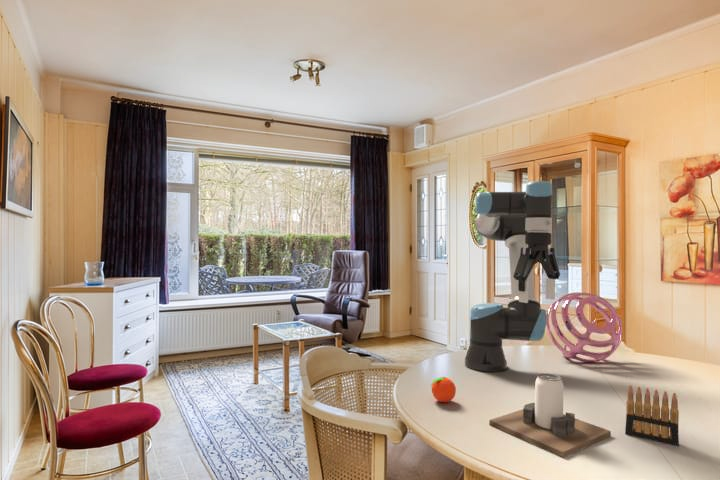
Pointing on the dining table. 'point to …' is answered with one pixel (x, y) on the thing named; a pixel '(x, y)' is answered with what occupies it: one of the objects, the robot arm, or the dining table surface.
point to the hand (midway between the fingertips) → (537, 300)
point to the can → (548, 399)
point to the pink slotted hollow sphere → (591, 327)
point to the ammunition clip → (652, 417)
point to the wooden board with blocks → (551, 431)
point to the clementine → (443, 389)
